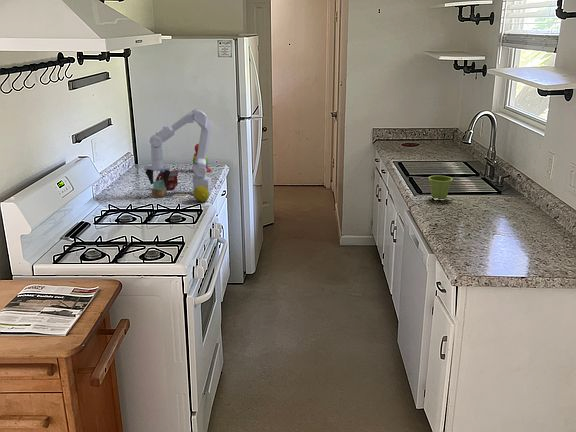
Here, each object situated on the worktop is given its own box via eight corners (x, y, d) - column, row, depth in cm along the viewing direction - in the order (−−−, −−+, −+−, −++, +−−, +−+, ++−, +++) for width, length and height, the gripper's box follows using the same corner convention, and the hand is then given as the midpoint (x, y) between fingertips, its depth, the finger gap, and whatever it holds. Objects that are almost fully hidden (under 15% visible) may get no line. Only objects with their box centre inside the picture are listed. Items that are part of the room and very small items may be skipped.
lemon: (210, 203, 284) (209, 188, 282) (194, 204, 283) (193, 189, 280) (208, 198, 294) (207, 183, 292) (193, 199, 293) (192, 183, 290)
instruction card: (190, 194, 301) (190, 194, 300) (186, 197, 295) (186, 197, 295) (175, 194, 302) (175, 193, 302) (171, 197, 296) (171, 196, 296)
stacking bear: (200, 174, 347) (199, 145, 342) (189, 172, 353) (187, 143, 348) (213, 171, 356) (212, 143, 350) (201, 169, 361) (200, 141, 356)
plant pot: (423, 200, 289) (425, 178, 285) (431, 195, 298) (433, 174, 295) (446, 204, 282) (448, 182, 279) (454, 198, 292) (455, 177, 289)
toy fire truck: (157, 187, 317) (156, 169, 314) (179, 187, 317) (178, 168, 314) (155, 190, 310) (153, 171, 307) (177, 190, 311) (176, 171, 307)
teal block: (164, 188, 298) (164, 181, 297) (159, 190, 295) (158, 182, 294) (158, 187, 300) (158, 180, 299) (153, 189, 297) (153, 181, 296)
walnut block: (167, 195, 301) (166, 188, 299) (162, 198, 295) (162, 190, 294) (156, 194, 302) (155, 187, 300) (151, 197, 296) (151, 190, 295)
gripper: (173, 157, 295) (174, 182, 299) (147, 156, 297) (148, 181, 301) (168, 160, 288) (170, 186, 292) (141, 159, 291) (143, 185, 295)
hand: (158, 184), depth 296 cm, fingers open, 7 cm apart
